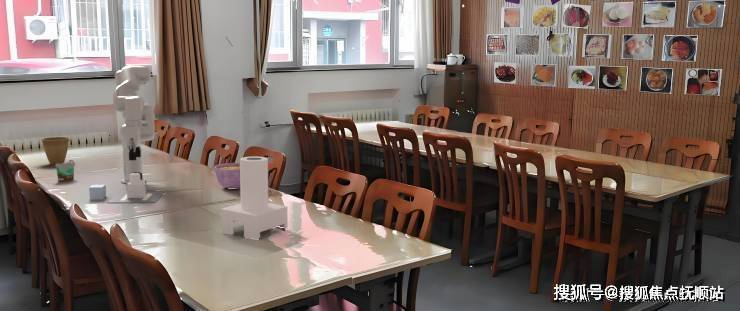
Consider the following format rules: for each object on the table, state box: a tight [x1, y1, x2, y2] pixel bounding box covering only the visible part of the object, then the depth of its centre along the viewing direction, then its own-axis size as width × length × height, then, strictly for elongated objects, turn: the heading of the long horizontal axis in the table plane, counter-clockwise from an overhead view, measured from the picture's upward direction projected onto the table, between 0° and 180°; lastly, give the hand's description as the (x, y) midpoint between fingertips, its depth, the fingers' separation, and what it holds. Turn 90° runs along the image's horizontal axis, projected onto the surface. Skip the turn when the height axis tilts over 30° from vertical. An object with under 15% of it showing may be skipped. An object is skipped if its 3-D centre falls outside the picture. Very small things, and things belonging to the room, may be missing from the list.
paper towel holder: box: [220, 156, 288, 239], centre depth 265 cm, size 19×19×30 cm
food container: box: [55, 159, 76, 183], centre depth 356 cm, size 12×6×10 cm, turn 168°
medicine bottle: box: [126, 172, 147, 198], centre depth 319 cm, size 7×7×12 cm
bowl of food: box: [213, 162, 240, 189], centre depth 345 cm, size 20×20×12 cm
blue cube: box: [88, 184, 107, 200], centre depth 318 cm, size 6×6×6 cm
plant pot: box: [41, 136, 70, 166], centre depth 400 cm, size 15×15×16 cm
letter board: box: [106, 191, 164, 204], centre depth 320 cm, size 22×22×1 cm
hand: (135, 158), depth 317 cm, fingers open, 9 cm apart
